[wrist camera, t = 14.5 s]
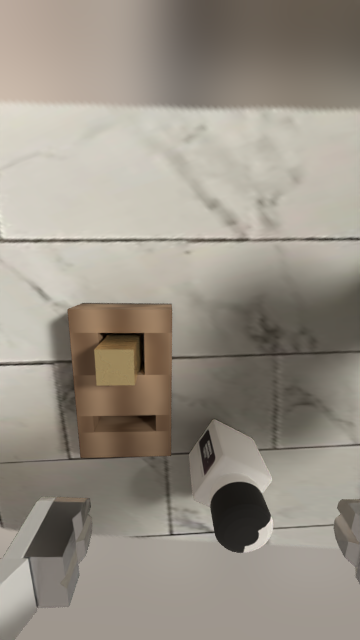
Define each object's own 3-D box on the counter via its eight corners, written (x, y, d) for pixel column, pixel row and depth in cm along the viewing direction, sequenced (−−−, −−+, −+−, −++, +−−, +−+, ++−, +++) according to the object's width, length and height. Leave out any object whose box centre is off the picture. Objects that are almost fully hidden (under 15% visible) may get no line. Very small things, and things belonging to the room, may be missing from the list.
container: (187, 454, 38) (196, 548, 25) (213, 417, 37) (236, 496, 24) (227, 473, 39) (255, 572, 26) (253, 438, 38) (296, 523, 25)
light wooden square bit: (142, 329, 32) (133, 349, 24) (142, 357, 33) (134, 385, 25) (112, 329, 32) (94, 349, 24) (113, 357, 33) (96, 385, 25)
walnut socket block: (171, 303, 32) (171, 309, 28) (170, 430, 37) (170, 455, 32) (83, 303, 32) (67, 309, 27) (92, 432, 36) (80, 457, 31)
